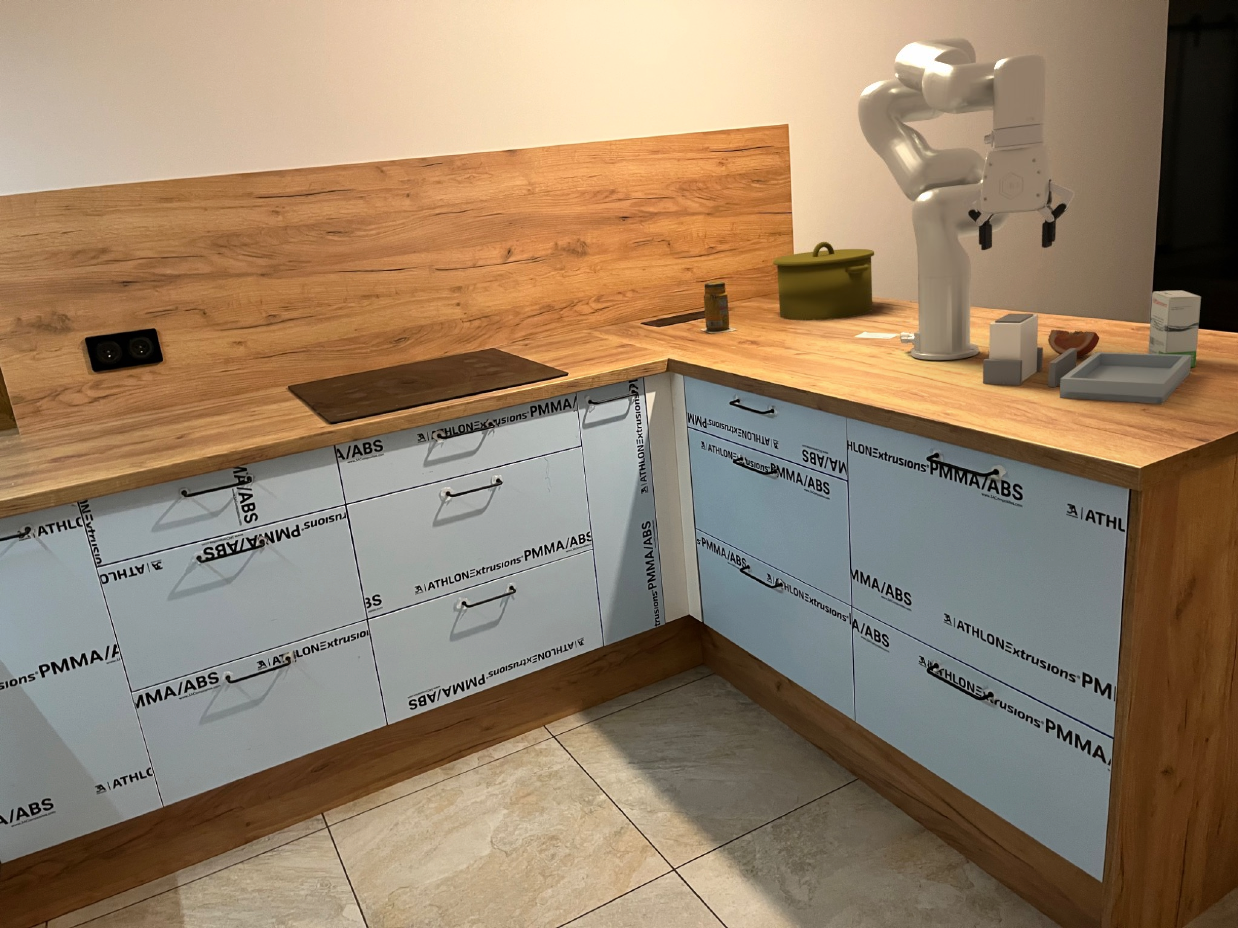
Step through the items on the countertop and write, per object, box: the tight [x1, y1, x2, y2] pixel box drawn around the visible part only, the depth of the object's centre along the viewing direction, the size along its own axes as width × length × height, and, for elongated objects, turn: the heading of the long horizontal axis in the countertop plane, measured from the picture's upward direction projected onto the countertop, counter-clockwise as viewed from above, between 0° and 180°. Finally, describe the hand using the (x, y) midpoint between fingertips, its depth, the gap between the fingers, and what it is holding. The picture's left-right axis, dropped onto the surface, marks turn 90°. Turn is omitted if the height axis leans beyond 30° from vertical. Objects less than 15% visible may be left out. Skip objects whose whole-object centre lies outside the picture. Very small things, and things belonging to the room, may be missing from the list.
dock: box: [982, 346, 1078, 388], centre depth 156 cm, size 12×12×4 cm
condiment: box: [700, 281, 738, 334], centre depth 234 cm, size 7×8×12 cm
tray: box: [1059, 351, 1192, 405], centre depth 145 cm, size 14×20×3 cm
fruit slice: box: [1047, 329, 1100, 359], centre depth 167 cm, size 8×7×5 cm
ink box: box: [1147, 290, 1202, 368], centre depth 154 cm, size 9×5×12 cm, turn 168°
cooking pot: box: [772, 241, 875, 321], centre depth 242 cm, size 30×26×18 cm
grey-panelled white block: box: [988, 313, 1039, 382], centre depth 157 cm, size 5×9×10 cm, turn 140°
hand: (1016, 248), depth 152 cm, fingers open, 9 cm apart
